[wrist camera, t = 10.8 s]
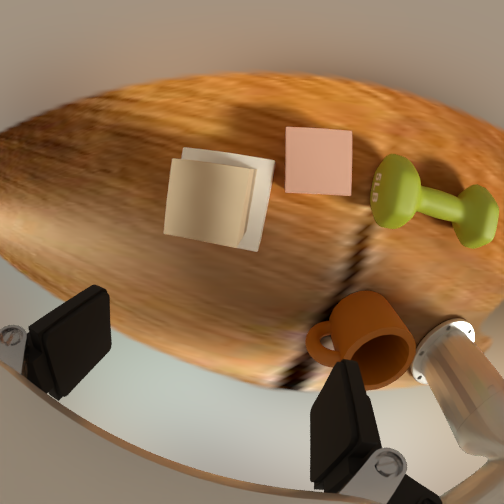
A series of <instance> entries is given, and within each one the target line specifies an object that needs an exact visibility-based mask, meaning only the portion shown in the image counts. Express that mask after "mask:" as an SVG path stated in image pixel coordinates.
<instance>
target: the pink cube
mask: <svg viewBox="0 0 504 504" xmlns="http://www.w3.org/2000/svg"><path fill="white" fill-rule="evenodd" d="M351 183H352V131H345V130H334V129H322V128H305V127H286V132H285V192H286V193H308V194H328V195H345V196H351Z"/></svg>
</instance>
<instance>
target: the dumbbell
mask: <svg viewBox="0 0 504 504" xmlns="http://www.w3.org/2000/svg"><path fill="white" fill-rule="evenodd" d="M370 206H371V210H372V213H373V217H374V219H375V221H376V223H377V224H378V225H379V226H381V227H384V228H390V229H396V228H399V227H401V226H403V225H404V224H406V223H407V222H408V221H409V220H410V219H411V218H412V217H413V216H414V214H415V212H416V211H417V212H421V213H423V214H426V215H429V216H432V217H435V218H438V219H442V220H447V221H452V226H453V228H454V231H455V233H456V235H457V237H458V239H459V241H460V242H461V244H462V245H463V246H465V247H468V248H478V247H481V246H483V245H486V244H488V243H489V242H491V241H492V240H493V238H494V235H495V232H496V228H497V223H498V217H499V207H498V205H497V203H496V201H495V199H494V198H493V197H492V195H491V194H490V193H489V191H488V190H487V189H486V188H484V187H482V186H480V185H472V186H470V187H468V188H466V189H465V190H464V191H462V192H461V193H460V194H459V195H458V197H455V196H453V195H451V194H448V193H446V192H443V191H440V190H437V189H433V188H429V187H424V186H421V182H420V177H419V175H418V172H417V170H416V169H415V167H414V166H413V164H412V163H411V162H410V161H409V160H408V159H407V158H405V157H402V156H400V155H396V154H389V155H388V156H386V157H385V158H384V160H383V161H382V162H381V164H380V165H379V166H378V168H377V169H376V171H375V174H374V177H373V182H372V188H371V194H370Z"/></svg>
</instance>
